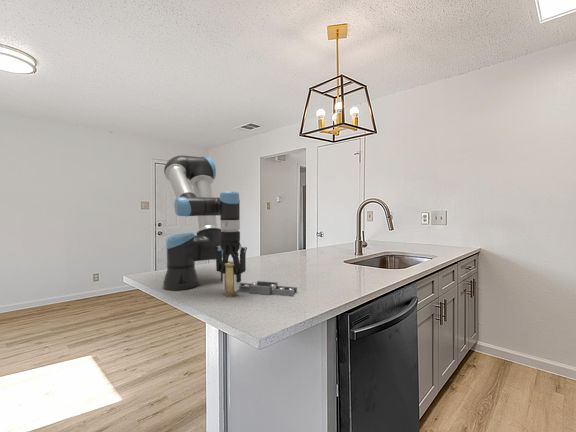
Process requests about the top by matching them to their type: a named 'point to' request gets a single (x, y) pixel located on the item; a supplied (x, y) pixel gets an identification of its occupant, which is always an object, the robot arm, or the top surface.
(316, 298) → the top surface
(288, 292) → the chain joint
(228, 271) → the pin
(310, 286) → the top surface
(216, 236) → the robot arm
